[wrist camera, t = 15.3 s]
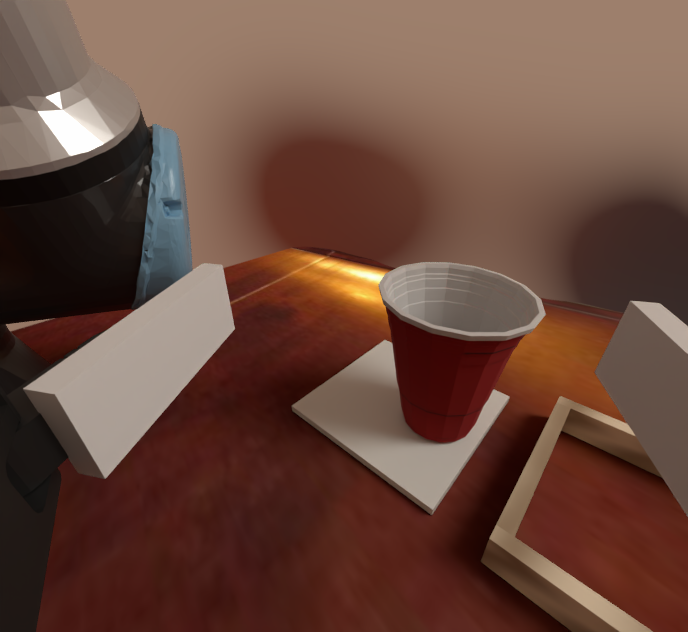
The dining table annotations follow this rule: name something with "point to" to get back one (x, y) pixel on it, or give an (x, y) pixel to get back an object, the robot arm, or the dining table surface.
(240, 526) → the dining table surface
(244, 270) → the dining table surface
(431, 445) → the white tile
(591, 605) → the birch collar
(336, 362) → the dining table surface
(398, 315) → the plastic cup
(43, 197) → the robot arm
